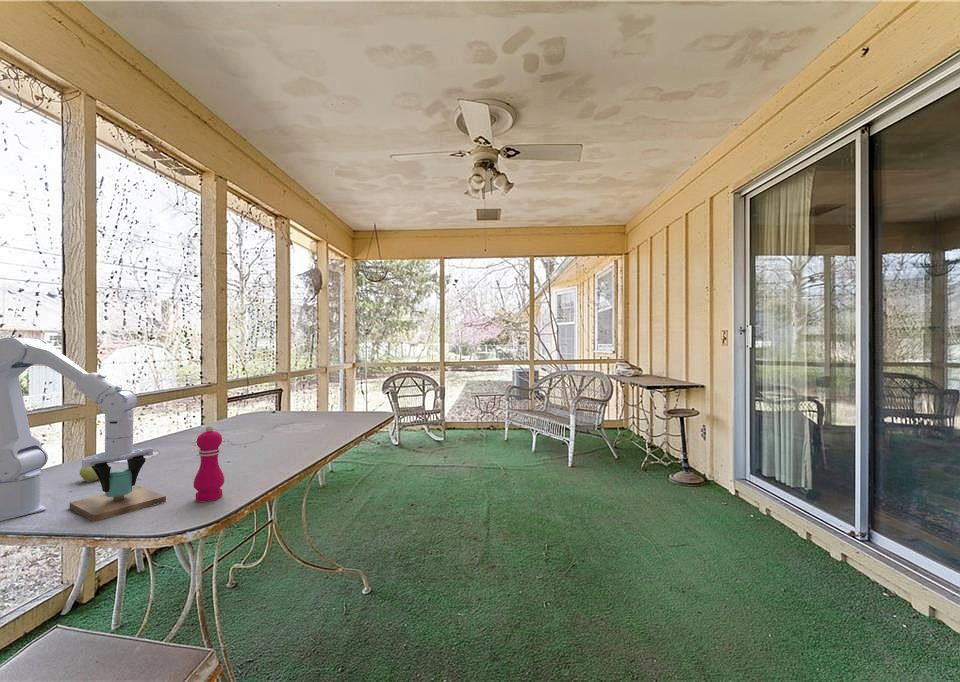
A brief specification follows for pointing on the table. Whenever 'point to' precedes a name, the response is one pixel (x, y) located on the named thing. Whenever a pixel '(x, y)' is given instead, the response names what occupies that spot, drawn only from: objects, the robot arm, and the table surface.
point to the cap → (119, 483)
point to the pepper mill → (209, 467)
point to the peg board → (116, 503)
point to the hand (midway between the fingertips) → (118, 488)
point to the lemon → (88, 474)
